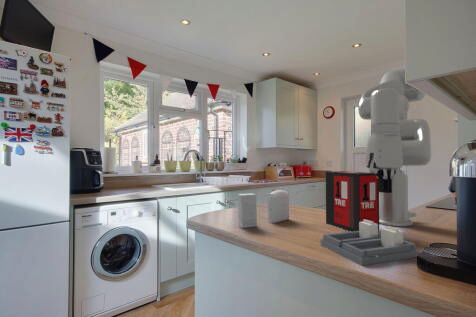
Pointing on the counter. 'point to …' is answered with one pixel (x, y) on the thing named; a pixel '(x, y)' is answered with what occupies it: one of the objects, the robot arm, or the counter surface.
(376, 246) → the switch board
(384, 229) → the tab
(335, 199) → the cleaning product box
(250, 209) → the skincare box
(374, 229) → the tab
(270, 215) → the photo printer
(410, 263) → the counter surface
